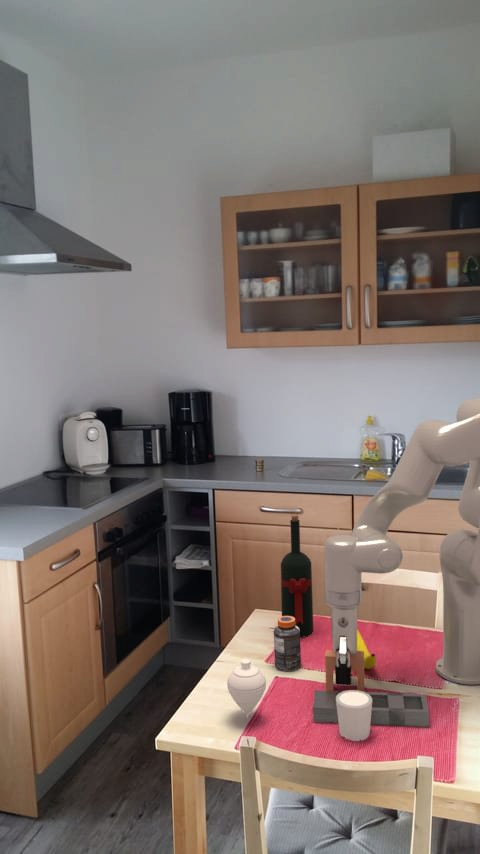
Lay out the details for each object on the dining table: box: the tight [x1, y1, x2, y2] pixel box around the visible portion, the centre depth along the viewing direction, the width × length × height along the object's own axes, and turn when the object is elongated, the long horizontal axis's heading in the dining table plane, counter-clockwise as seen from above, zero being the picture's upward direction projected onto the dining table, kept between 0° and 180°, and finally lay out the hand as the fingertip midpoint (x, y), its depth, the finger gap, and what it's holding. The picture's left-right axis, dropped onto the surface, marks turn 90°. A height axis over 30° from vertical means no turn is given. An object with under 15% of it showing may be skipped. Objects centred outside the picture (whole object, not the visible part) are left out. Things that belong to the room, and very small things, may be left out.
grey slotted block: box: [312, 689, 430, 728], centre depth 149 cm, size 22×7×3 cm, turn 81°
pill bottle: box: [273, 615, 302, 672], centre depth 170 cm, size 6×6×11 cm
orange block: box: [324, 649, 366, 692], centre depth 159 cm, size 8×3×8 cm, turn 81°
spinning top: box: [226, 658, 267, 719], centre depth 149 cm, size 8×8×12 cm
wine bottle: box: [280, 514, 314, 638], centre depth 187 cm, size 8×10×30 cm
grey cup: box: [336, 689, 372, 742], centre depth 142 cm, size 7×7×7 cm
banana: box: [357, 629, 377, 670], centre depth 171 cm, size 3×19×6 cm, turn 4°
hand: (343, 673), depth 159 cm, fingers open, 9 cm apart
